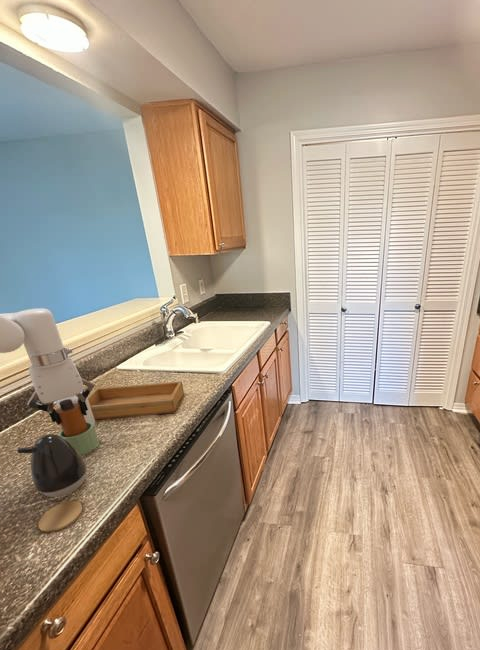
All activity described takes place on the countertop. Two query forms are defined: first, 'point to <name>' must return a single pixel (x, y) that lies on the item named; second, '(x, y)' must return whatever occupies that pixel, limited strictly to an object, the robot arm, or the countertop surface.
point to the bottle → (71, 418)
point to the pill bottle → (89, 416)
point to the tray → (135, 400)
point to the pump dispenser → (55, 466)
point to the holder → (83, 439)
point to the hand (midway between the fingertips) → (71, 417)
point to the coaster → (60, 516)
